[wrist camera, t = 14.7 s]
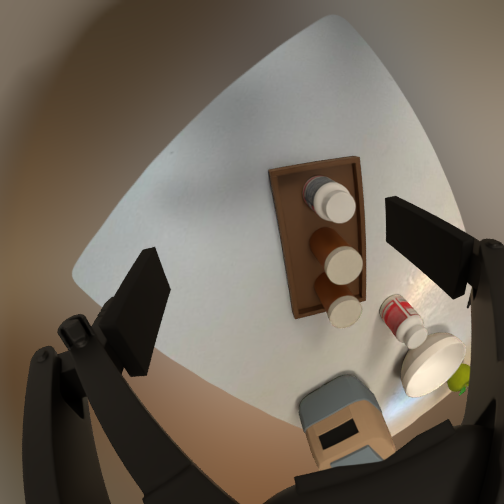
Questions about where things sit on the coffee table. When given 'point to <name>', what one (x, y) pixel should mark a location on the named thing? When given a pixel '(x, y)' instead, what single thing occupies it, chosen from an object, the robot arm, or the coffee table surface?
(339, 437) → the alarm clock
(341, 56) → the coffee table surface
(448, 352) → the bowl
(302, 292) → the tray
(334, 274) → the amber bottle middle
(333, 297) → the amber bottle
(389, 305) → the pill bottle
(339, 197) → the pill bottle
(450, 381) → the fruit
